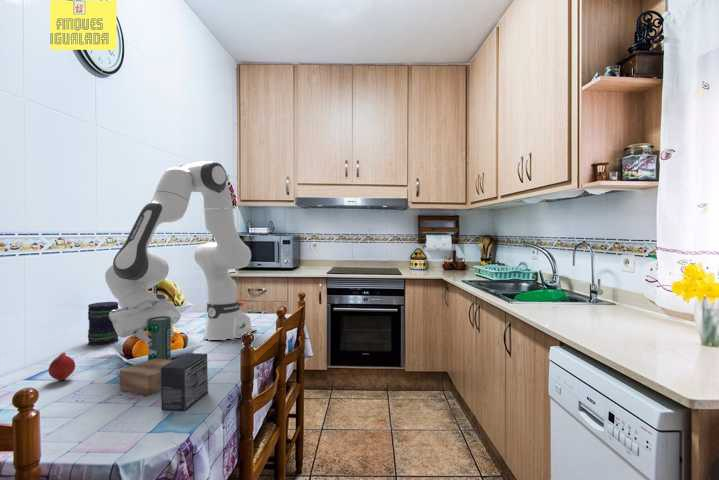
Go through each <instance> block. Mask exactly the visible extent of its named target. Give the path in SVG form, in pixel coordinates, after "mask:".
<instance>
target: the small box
mask: <svg viewBox="0 0 719 480" xmlns="http://www.w3.org/2000/svg"><path fill="white" fill-rule="evenodd" d="M160 394H161V395H160V396H161V402H160V404H161V406H160V407H161V411H172V412H173V411H174V412H186V411H188V410H189V409H190V408H192V406H194V405H195V404H196V403H197V402H198V401H200V400H201V399H203V398H204V397H205V396H206V395H208V394H209V382H208V353H187V352H186V353H184V354H182V355H180V356H179V357H177V358H175V359H173V360H171V362H169V363H168V364H166V365H164V366H162V367H161V390H160Z"/></svg>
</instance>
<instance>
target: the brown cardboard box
mask: <svg viewBox="0 0 719 480" xmlns="http://www.w3.org/2000/svg"><path fill="white" fill-rule="evenodd" d="M171 361H172V359H171V360H165V359H160V358H155V359H152V360H149V361H148V360H146V361H143V362H141V363H140V362H139V363H137V364H133V365H131V366H128V367H125V368H122V369H119V389H120V390H122V389H123V390H124V391H128V392H132V393H136V394H140V395H144V396H149V397H150V396H152V395H153V394H156V393H158V392H161V367H162V366H164V365H166V364H168V363H169V362H171Z"/></svg>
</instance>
